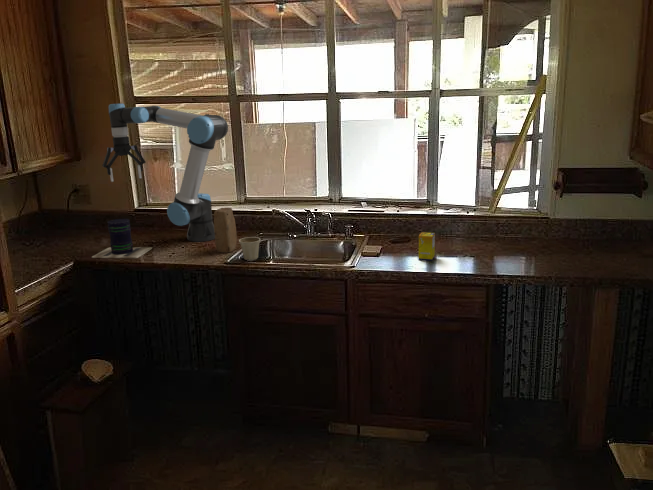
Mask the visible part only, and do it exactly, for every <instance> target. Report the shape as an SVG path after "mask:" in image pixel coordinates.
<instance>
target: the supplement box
mask: <svg viewBox="0 0 653 490" xmlns="http://www.w3.org/2000/svg"><path fill="white" fill-rule="evenodd" d="M435 239H436V233H435V232H424V231H423V232H420V233H419V235H418V256H417V257H418V261H424V262H425V261H426V262H433V260H434V259H435V253H436V252H435V251H436V249H435V248H436V246H435V245H436V243H435V242H436V241H435Z"/></svg>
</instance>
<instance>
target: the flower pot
mask: <svg viewBox="0 0 653 490" xmlns="http://www.w3.org/2000/svg"><path fill="white" fill-rule="evenodd" d="M238 242H239V244H240V246H241V251H242V254H243V259H244V260H245V261H248V260H249V261H255V260H257V259H259V246H260V243H261V238H260V237H256V236H249V237H243V238H240V239H239V240H238Z"/></svg>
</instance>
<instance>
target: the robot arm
mask: <svg viewBox="0 0 653 490" xmlns="http://www.w3.org/2000/svg"><path fill="white" fill-rule="evenodd" d="M108 115H109V121H110V128H111V136H112V137H113V138H112V143H113V144H112V145H113V147H107V148H106V154H105V157H104V160H103V163H102V168H105V169H106V172H107V175H109V177H110V182H111V183H113V182H114V175H113V174H114V173H113V168H112V166H113V163H114V162H115V161H116V159H117V158H118V157H119V156H120V157H122V156H123V157H124V156H128V157H130V158H132V160H134V161H135V162H136V164H137V173H138V174H137V175H138V179H142V178H143V177H142V172H143V171H144V170H143V169H144V168H143V164H144V165H145V164H146V160H145V158H144V157H143V155H142V154H141V152H140V150H138V146H137V144H134V145H131V143H130V136H129V129H128V124H139V125H140V124H145V123H156V124H162V125H166V126H167V125H168V126H172V127H176V128H177V127H178V128H182V129H186V133H187V135H188V138H189V139H188V143H189V145H190V148H189V153H188V158H187V161H186V165H185V170H184V173H183V177H182V181H181V184H180V189H179V192H177V193H176V194H175V195H174V199H173V202H171V203H170V204H169V205H168V206H167V208H166V213H167V217H168V219H169V221H170V222H171V223H172V224H173V225H175V226H179V227H180V226H181V227H182V226H186V225H188V229H187V233H186V238H187V239H186V240H187V241H189V242H209V241H212V240H215V232H214V219H213V210H212V200H211V195H210V194H209V193H202V192H201V193H200V188H201V185H202V181H203V177H204V174H205V169H206V166H207V162H208V158H209V154H210V152H211V151H213V150H214V149H215V145H216V142H217V141H220V140H222V139H223V138H225V137H226V136H227V133H228V131H229V125H228V124H229V123H228V122H227V120H226V119H225V118H224V117H223V116H222V115H218V114H208V113H206V114H204V115H201V114H197V113H191V112H187V111H179V110H175V109H170V108H164V107H160V106H158V105H150V106H149V105H148V106H131V107H130V106H129V107H126V106H125V104H124V103H111V104H108ZM131 150H133V151H134V152H135V155H137V157H138V158H137V157H136V156H135V155H134V154H132V152H131ZM113 151H114V153H113V156H112V157H111V154H112V152H113ZM110 157H111V159H110ZM109 159H110V160H109Z"/></svg>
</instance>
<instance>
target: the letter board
mask: <svg viewBox="0 0 653 490" xmlns="http://www.w3.org/2000/svg"><path fill="white" fill-rule="evenodd" d="M152 249H153V247H143V246H141V247H138V246H137V247H134V246H133V252H131V253H128V254H122V255H115V254H112V250H111V246H110V247H107V248H104V249H103V250H102V251H101V250H100V251H99V252H98V253H96V254H94V255H92V256H91V258H92V259H97V258H98V259H138V258H140V257H142V256H143V255H144V254H146V253H147V252H149V251H150V250H152Z"/></svg>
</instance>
